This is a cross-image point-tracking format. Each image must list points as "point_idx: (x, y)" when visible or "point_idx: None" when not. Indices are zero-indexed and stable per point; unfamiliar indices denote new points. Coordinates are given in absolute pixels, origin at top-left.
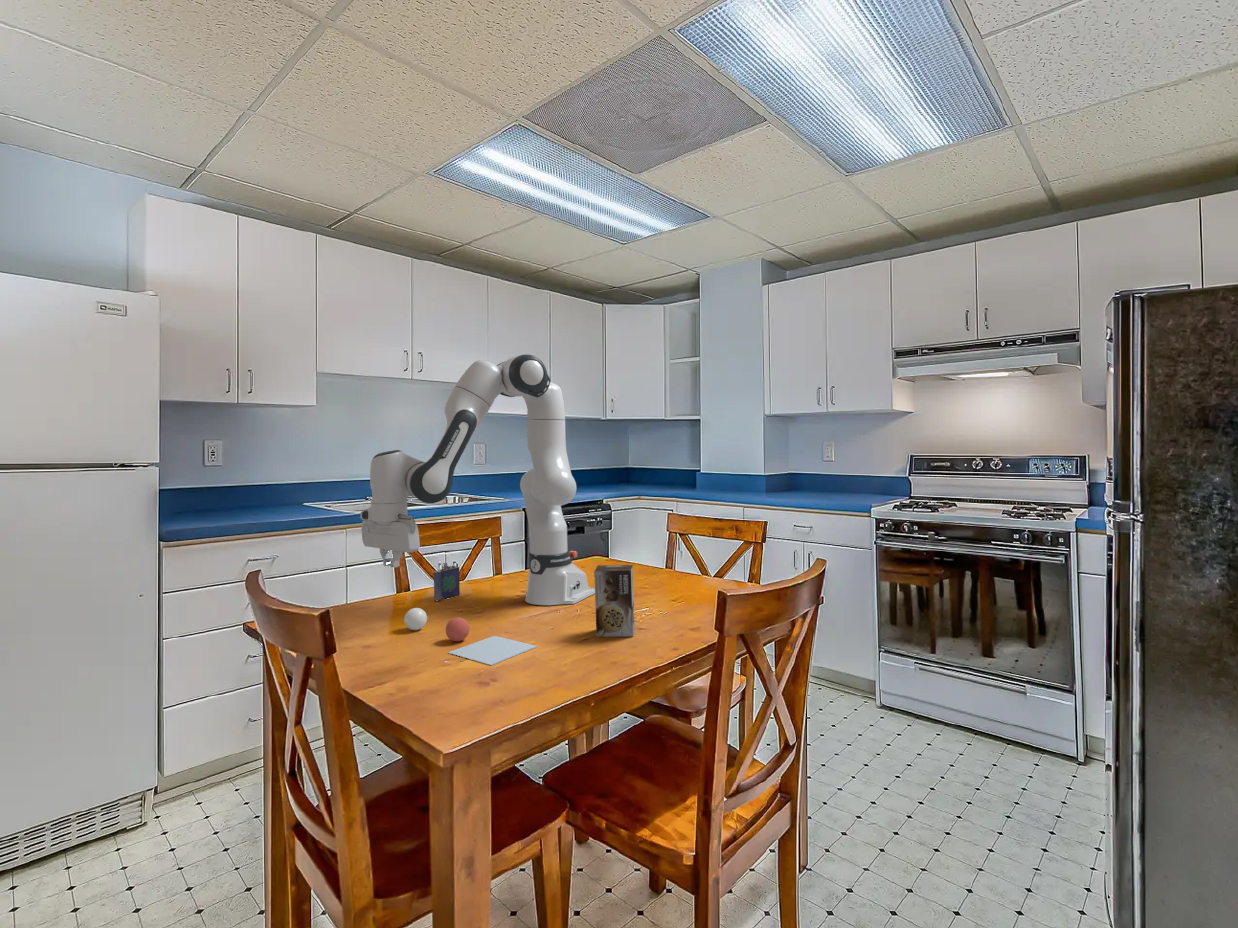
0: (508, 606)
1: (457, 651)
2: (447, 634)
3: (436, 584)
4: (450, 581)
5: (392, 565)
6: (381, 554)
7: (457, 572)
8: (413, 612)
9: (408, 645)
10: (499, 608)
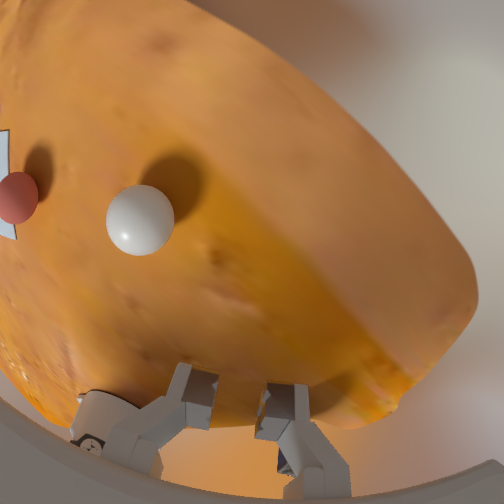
0: (137, 388)
1: (2, 144)
2: (20, 172)
3: None
4: None
5: (190, 371)
6: (327, 452)
7: (278, 462)
8: (115, 210)
9: (80, 109)
10: (138, 379)
